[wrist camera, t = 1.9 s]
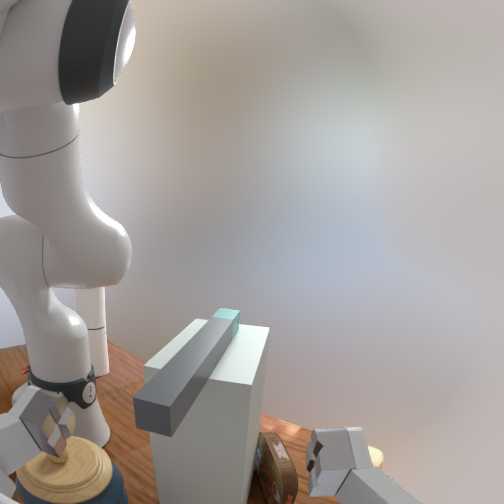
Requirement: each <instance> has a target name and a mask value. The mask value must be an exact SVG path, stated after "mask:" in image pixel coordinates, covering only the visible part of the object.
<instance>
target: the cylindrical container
mask: <svg viewBox="0 0 504 504" xmlns="http://www.w3.org/2000/svg"><path fill="white" fill-rule="evenodd" d="M104 293H105V292H104V287H100V288H94V289H76V295H77V296H76V297H77V314H78V315H79V316H80V317H81V318H82V319H83V321H84V322H85V324H86V326H87V329H88V339H89V350H90V360H91V363H92V365H93V367H94V373H95V377H98V376H103V375H106V374H107V373H108V372H109V363H108V352H107V338H106V320H105V297H104V296H105V294H104Z"/></svg>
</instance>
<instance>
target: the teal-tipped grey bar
mask: <svg viewBox="0 0 504 504" xmlns="http://www.w3.org/2000/svg"><path fill="white" fill-rule="evenodd" d="M239 316H240V310H232V309H224V308H220V309H219V310H218V311H217V312H216V313H215V314H214V315H213V316H212V317H211V318H210V319H209V320H208V321H207V322H206V323H205V325H204V326H203V327H202V328H201V329H200V330H199V331H198V332H197V333H196V334H195V335H194V336H193V337H192V338H191V339H190V340H189V341H188V342H187V343H186V344H185V345H184V346H183V347H182V348H181V349H180V350H179V351H178V352H177V353H176V354H175V355H174V356H173V357H172V358H171V359H170V360H169V361H168V362H167V363H166V364H165V365H164V366H163V367H162V368H161V370H160V371H159V372H158V373H157V374H156V375H155V376H154V377H153V378H152V379H151V380H150V381H149V382H148V383H147V384H146V385H145V386H144V387H143V388H142V389H141V390H140V391H139V392H138V393H137V394H136V395H135V396H134V397H133V402H134V411H135V420H136V427H137V428H139V429H142V430H146V431H149V432H153V433H157V434H160V435H164V436H168V437H172V436H173V435H174V433H175V431H176V430H177V428H178V427H179V425H180V424H181V422H182V420H183V419H184V417H185V416H186V414H187V412H188V411H189V409H190V408H191V406H192V405H193V403H194V401H195V400H196V398H197V397H198V395H199V393H200V392H201V390H202V389H203V387H204V385H205V384H206V382H207V380H208V379H209V377H210V376H211V374H212V372H213V371H214V369H215V367H216V366H217V364H218V363H219V361H220V359H221V358H222V356H223V354H224V353H225V351H226V349H227V348H228V346H229V345H230V343H231V341H232V340H233V338H234V336H235V335H236V333H237V331H238V330H239Z"/></svg>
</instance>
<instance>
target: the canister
mask: <svg viewBox="0 0 504 504" xmlns="http://www.w3.org/2000/svg"><path fill="white" fill-rule="evenodd" d="M66 442H67V446H66V448H65V450H64V452H63V454H62V456H61V458H59V457H56V456H53V455H50V454H48V453H45V452H42V451H41V452H42V453H40V454H39V455H37V456H36V457H35V458H33V459H32V460H30V461H29V462H27V463H26V464H25V465H23V466H22V467H20V468H19V469H17V470H16V487H17V491H18V493H19V495H20V497H21V498H22V500H23V501H24V502H25V504H128V497H127V493H126V491H125V489H124V482H123V477H122V474H121V472H120V470H119V469H118V467H117V466H116V465H115V464H114V463H113V462H112V461H111V460H110V458H109V456H108V455H107V453H106V452H105V451H104V450H103V449H102V448H101V447H99V446H98V445H96V444H95V443H93V442H91V441H89V440H87V439H84V438H80V437H76V436H70V437H69V438H67V439H66Z"/></svg>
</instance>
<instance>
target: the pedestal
mask: <svg viewBox="0 0 504 504" xmlns="http://www.w3.org/2000/svg"><path fill="white" fill-rule="evenodd" d="M207 321H208V320H203V319H195V320H194V321H193V322H192V323H191V324H190V325H189V326H187V327H186V328H185V329H184V330H183V331H182V332H181V333H180V334H179V335H177V336H176V337H175V338H174V339H173V340H172V341H171V342H170V343H169V344H167V345H166V346H165V347H164V348H163V349H162V350H161V351H159V352H158V353H157V354H156V355H155V356H154V357H153V358H152V359H150V360H149V361H148V362H147V363H146V364H145V365H144V377H145V385H146V384H147V383H148V382H149V381H150V380H151V379H152V378H153V377H154V376H155V375H156V374H157V373H158V372H159V371H160V370H161V368H162V367H163V366H164V365H165V364H166V363H167V362H168V361H169V360H170V359H171V358H172V357H173V356H174V355H175V354H176V353H177V352H178V351H179V350H180V349H181V348H182V347H183V346H184V345H185V344H186V343H187V342H188V341H189V340H190V339H191V338H192V337H193V336H194V335H195V334H196V333H197V332H198V331H199V330H200V329H201V328H202V327H203V326H204V325H205V323H206V322H207ZM269 331H270V328H268V327H258V326H250V325H241V324H239V330H238V331H237V333H236V335H235V336H234V338H233V340H232V341H231V343H230V345H229V346H228V348H227V349H226V351H225V353H224V354H223V356H222V358H221V359H220V361H219V363H218V364H217V366H216V367H215V369H214V371H213V372H212V374H211V376H210V377H209V379H208V380H207V382H206V384H205V385H204V387H203V389H202V390H201V392H200V393H199V395H198V397H197V398H196V400H195V401H194V403H193V405H192V406H191V408H190V409H189V411H188V412H187V414H186V416H185V417H184V419H183V420H182V422H181V424H180V425H179V427H178V428H177V430H176V431H175V433H174V435H173V436H172V437H168V436H164V435H160V434H157V433H153V432H149V435H150V443H151V451H152V459H153V466H154V473H155V479H156V485H157V491H158V497H159V503H160V504H247V500H248V496H249V492H250V488H251V484H252V479H253V475H254V471H255V464H256V455H257V447H258V438H259V429H260V420H261V411H262V401H263V392H264V382H265V373H266V362H267V352H268V342H269Z"/></svg>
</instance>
